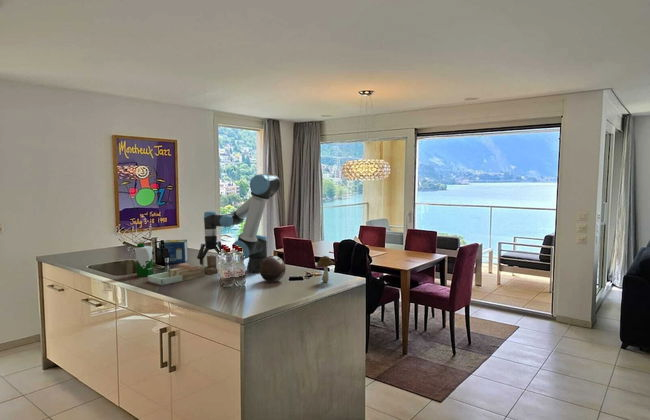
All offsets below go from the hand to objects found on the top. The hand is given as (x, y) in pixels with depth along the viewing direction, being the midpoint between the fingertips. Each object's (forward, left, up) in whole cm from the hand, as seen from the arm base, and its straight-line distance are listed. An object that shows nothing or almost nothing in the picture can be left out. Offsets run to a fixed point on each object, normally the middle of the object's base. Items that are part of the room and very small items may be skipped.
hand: (211, 267), depth 271 cm
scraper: (0, +2, -2) cm, 3 cm away
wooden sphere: (-53, -5, -3) cm, 53 cm away
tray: (0, +32, -2) cm, 33 cm away
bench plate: (0, +18, -2) cm, 18 cm away
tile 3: (+5, +17, +3) cm, 18 cm away
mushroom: (-78, -23, -3) cm, 81 cm away
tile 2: (0, +17, +3) cm, 17 cm away
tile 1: (-5, +17, +3) cm, 18 cm away
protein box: (+49, -3, -3) cm, 50 cm away
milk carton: (+25, +32, -3) cm, 41 cm away
